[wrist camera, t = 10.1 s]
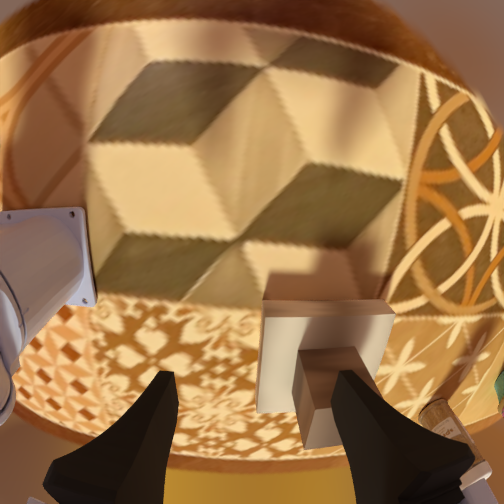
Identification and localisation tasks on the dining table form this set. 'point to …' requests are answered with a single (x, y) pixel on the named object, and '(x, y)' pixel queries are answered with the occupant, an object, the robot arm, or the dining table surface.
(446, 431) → the sprinkles bottle
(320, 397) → the walnut block
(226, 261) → the dining table surface
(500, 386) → the cupcake
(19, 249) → the robot arm
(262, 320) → the birch block
